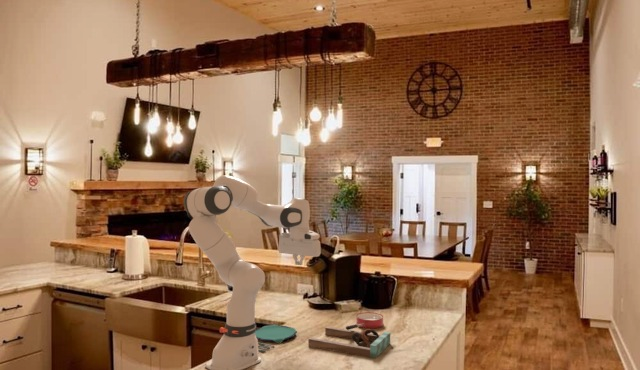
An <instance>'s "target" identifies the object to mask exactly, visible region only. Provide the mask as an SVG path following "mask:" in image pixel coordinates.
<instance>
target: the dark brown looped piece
mask: <svg viewBox="0 0 640 370" xmlns="http://www.w3.org/2000/svg"><path fill="white" fill-rule="evenodd" d="M358 332H359V331H357V332H354V333H353V334H352V335H351V337H352V341H353V342H354V343H355V344H356V346H359V345H360V343H363V342H364V343H366V347H367V348H370V345H371V344H372V343H373V342H374V341H375V340H371V342H369V340H370V338H367V337H366V336H367V334H369V333H370V334H373V335H376V336H377V338H379V335H380V334H379V333H378V332H377V331H376V330H375V329H366V328H365V329H364V330H363V331H360V332H361V333H358ZM355 336H356V337H357V338H355Z"/></svg>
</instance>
